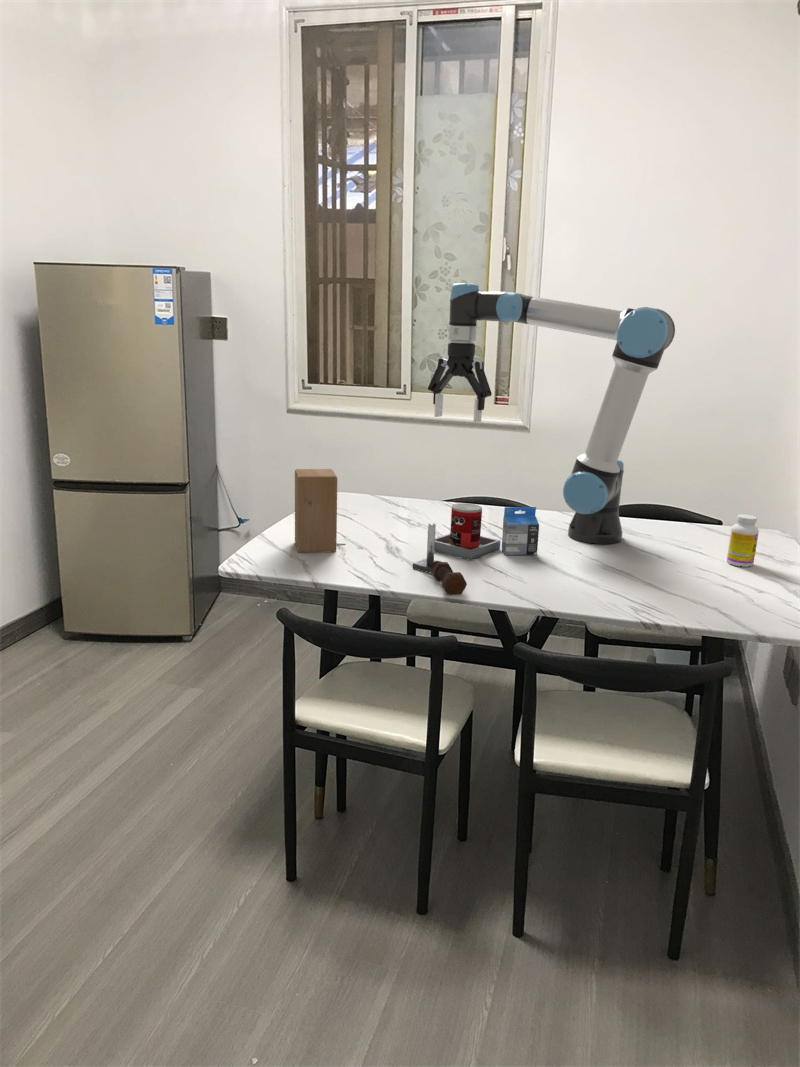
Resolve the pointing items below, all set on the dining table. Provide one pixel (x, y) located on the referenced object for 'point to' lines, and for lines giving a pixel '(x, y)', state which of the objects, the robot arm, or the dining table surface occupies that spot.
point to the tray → (484, 548)
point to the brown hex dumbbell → (448, 578)
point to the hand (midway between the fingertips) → (457, 419)
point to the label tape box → (520, 531)
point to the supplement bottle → (743, 541)
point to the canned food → (465, 525)
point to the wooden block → (315, 510)
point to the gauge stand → (428, 551)
